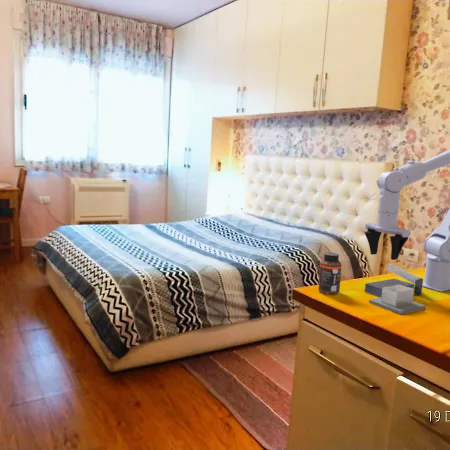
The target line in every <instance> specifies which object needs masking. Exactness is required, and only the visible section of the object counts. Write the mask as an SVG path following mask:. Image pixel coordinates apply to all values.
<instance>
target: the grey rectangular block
mask: <svg viewBox="0 0 450 450" xmlns="http://www.w3.org/2000/svg"><path fill="white" fill-rule="evenodd" d="M414 289H415V288H414ZM414 289H413V288H409V287H406V286H403V285H394V286H389V287H383V288H382V298H381V297H380V298H381V302H382V303H385V304H388V305H390V306H393V307H399V306H403V305H408V304H412V303H413V302H414V295H415V294H414Z"/></svg>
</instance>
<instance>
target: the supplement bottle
mask: <svg viewBox="0 0 450 450" xmlns="http://www.w3.org/2000/svg"><path fill="white" fill-rule="evenodd" d="M339 256H340V255H339V253H335V252H325V253H324V255H323V257H324V259H321V261H320V263H319V264H320V265H319V274H318V275H319V276H318V277H319V278H318V291H319V292H320V293H321V294H324V295H337V294H339V292H340V289H341V288H340V287H341V276H342V263H341V261H340V260H339Z"/></svg>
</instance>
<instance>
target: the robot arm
mask: <svg viewBox="0 0 450 450" xmlns="http://www.w3.org/2000/svg"><path fill="white" fill-rule="evenodd" d="M448 165H450V148H449V149H448V150H446V151H443V152H442V153H439V154H437V155H435V156H433V157H431V158H428V159H426V160H424V161H419V160H412V159H411V160H409V161H407V164H405V165H403V166H400V167H398V166H397V167H396V166H395V167H393V168H392V171H384V172H383V173H381V174H380V175H379V177H378V179H377V180H376V186H377V188H378V189H379V194H378V196H379V197H378V207H377V215H376V216H377V218H376V223H371V222H368V223H365V224H364V230H366V231H364V236H365V238H366V241H367V243H368V247H369V251H370V255H373V256H374V255H377V254H378V249H379V242H380V239H381V236H382V233H384V234H387V235H388V234H389V235H390V236H389V239H390V245H391V246H390V247H391V253H390V260H393V261H395V260H399V259H398V258H399V257H400V253H401V251H402V249H403V247H404V245H405V244H406V243H407V241H408V240H409V237H410V229H405V228H401V227H399V226H398V218H399V206H400V199H401V198H400V196H401V191H402V190H403V189H404V188H405V187H407V186H409V185H411V184H413V183H416V182H419V181H421V180H422V179H424V178H425V177H426V176H427V173H429V172H431V171H434V170H438V169H441V168H443V167H445V166H448ZM423 250H424V252H425V253H426V264H425V271H424V279H423V285H422V288H423V287H424V288H426V289H430V290H433V291H437V292H440V293H441V292H445V291H450V208H449V209H448V211H447V213H446V215H445V217H444V218H443V221H442V222H441V224H440V225H439V227H437V228H434V230H432V233H431V234H430V235H429V236H428V237H426V239H425V240H424V243H423Z"/></svg>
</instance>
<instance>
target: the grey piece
mask: <svg viewBox="0 0 450 450" xmlns="http://www.w3.org/2000/svg"><path fill="white" fill-rule="evenodd" d="M394 285H403V286H406V287H409V288H413V289H415V284H413V283H411V282H409V281H404V280H400V279H397V278H390V279H384V280H377V281H371V282H366V283H365V286H364V292H365V293H367V294H369V295H373V296H376V297H377V298H381V297H382V288H383V287H389V286H394Z"/></svg>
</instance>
